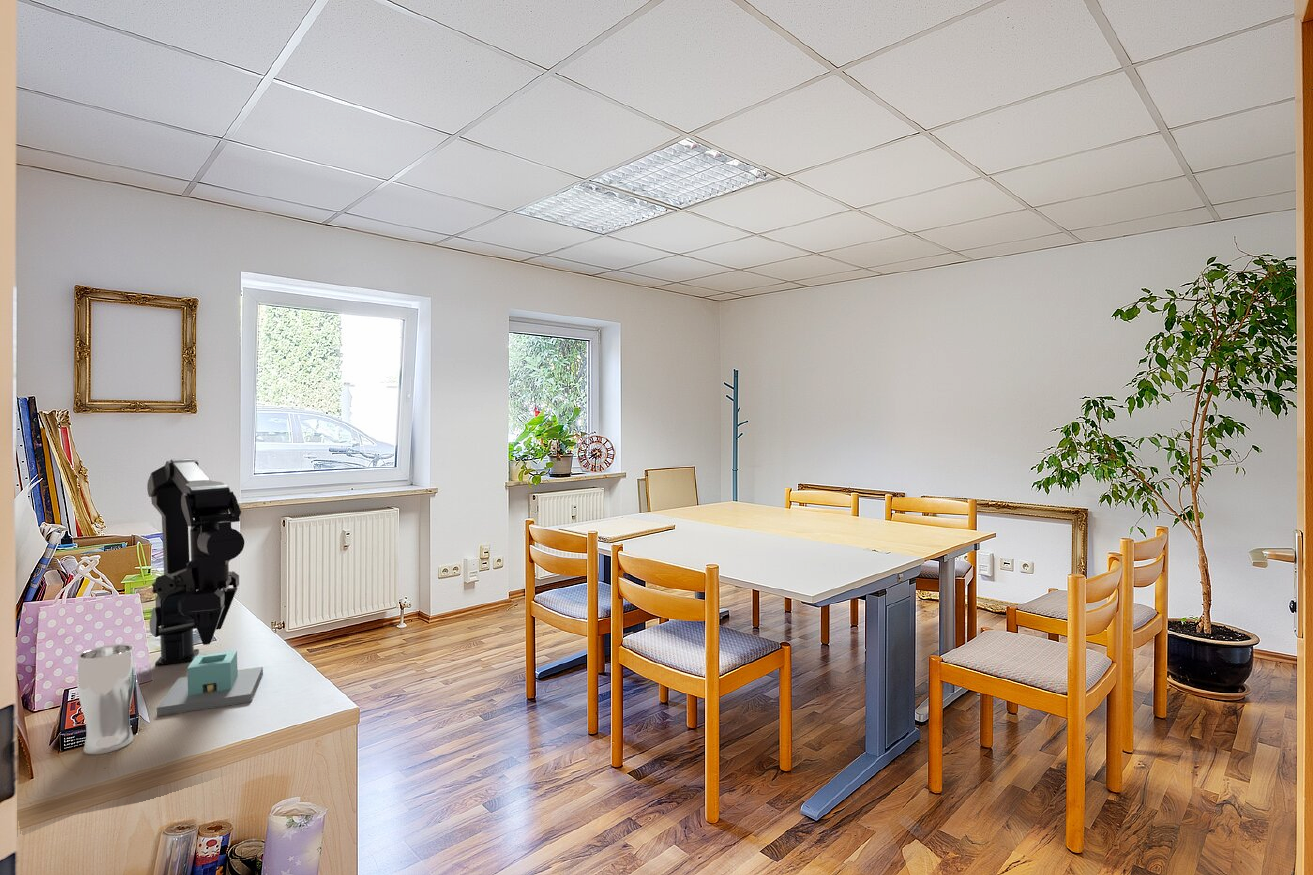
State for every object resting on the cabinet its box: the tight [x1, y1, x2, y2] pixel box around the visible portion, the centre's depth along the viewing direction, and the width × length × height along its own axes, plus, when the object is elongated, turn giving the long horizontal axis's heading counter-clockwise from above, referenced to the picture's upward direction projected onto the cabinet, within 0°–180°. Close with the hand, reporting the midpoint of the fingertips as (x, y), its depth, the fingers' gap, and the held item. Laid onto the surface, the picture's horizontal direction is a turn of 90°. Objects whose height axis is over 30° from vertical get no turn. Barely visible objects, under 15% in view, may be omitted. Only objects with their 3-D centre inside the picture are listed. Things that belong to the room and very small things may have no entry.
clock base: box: [156, 666, 264, 717], centre depth 123 cm, size 14×14×6 cm
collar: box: [186, 650, 238, 695], centre depth 123 cm, size 7×7×5 cm
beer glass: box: [76, 643, 136, 756], centre depth 104 cm, size 7×7×15 cm
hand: (212, 636), depth 123 cm, fingers open, 9 cm apart
